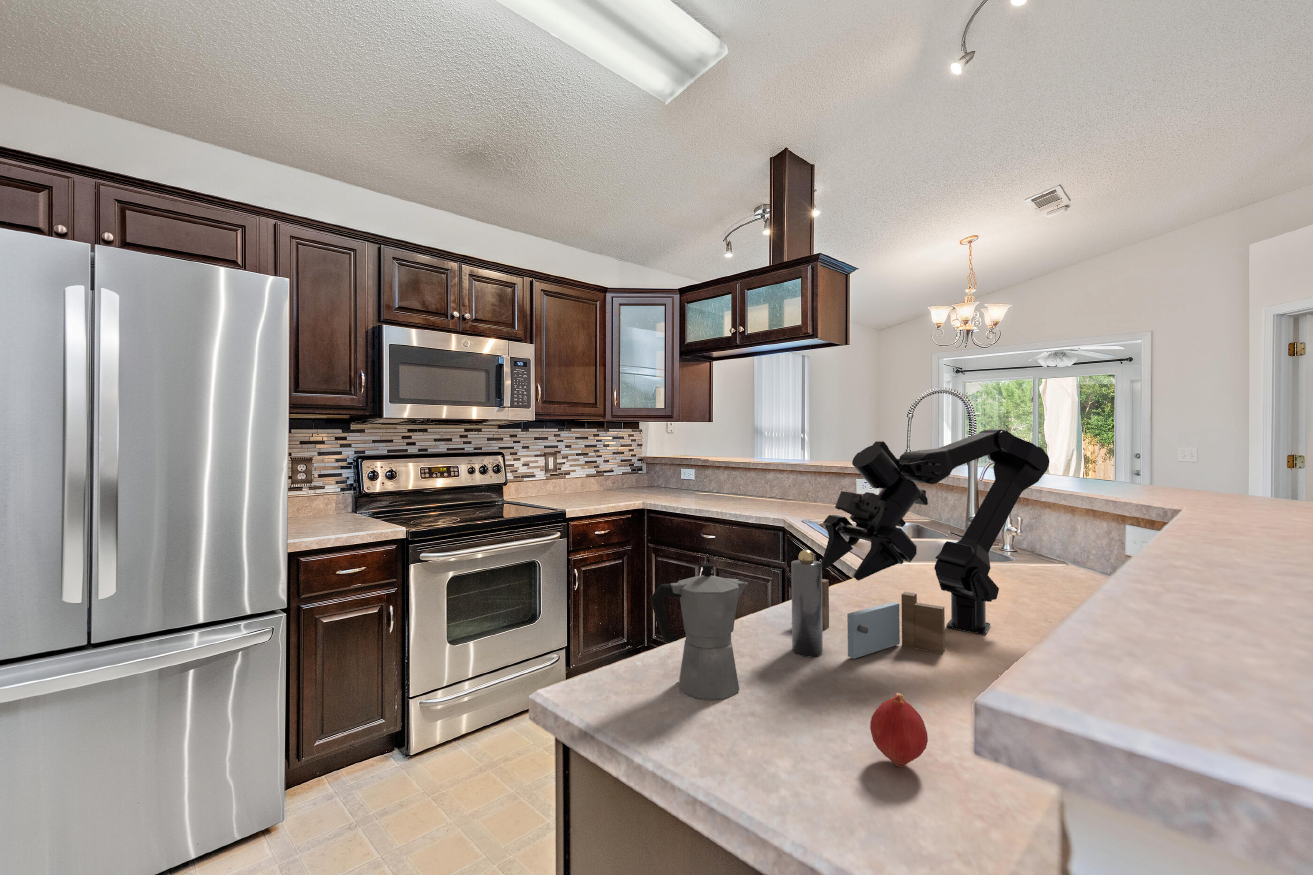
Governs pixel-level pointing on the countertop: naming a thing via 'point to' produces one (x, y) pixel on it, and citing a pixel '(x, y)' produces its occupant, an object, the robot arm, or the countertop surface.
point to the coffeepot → (704, 632)
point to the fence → (909, 622)
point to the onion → (898, 731)
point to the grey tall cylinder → (807, 605)
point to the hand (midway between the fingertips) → (838, 572)
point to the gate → (873, 629)
